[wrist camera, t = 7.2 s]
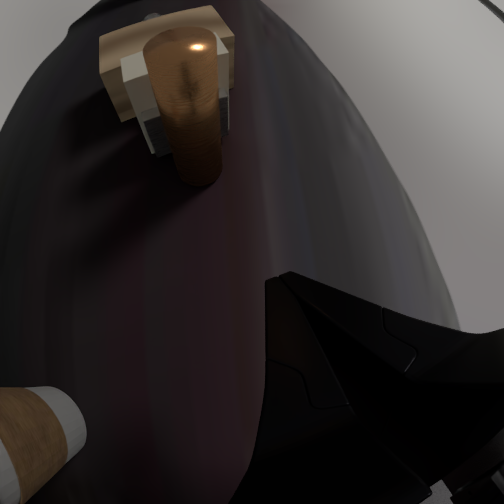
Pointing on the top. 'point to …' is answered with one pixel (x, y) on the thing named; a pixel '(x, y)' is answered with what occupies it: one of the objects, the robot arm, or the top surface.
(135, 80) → the spacer
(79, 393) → the top surface
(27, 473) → the coffee cup
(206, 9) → the bearing block
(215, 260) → the top surface
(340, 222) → the top surface
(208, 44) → the shaft
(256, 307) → the top surface
